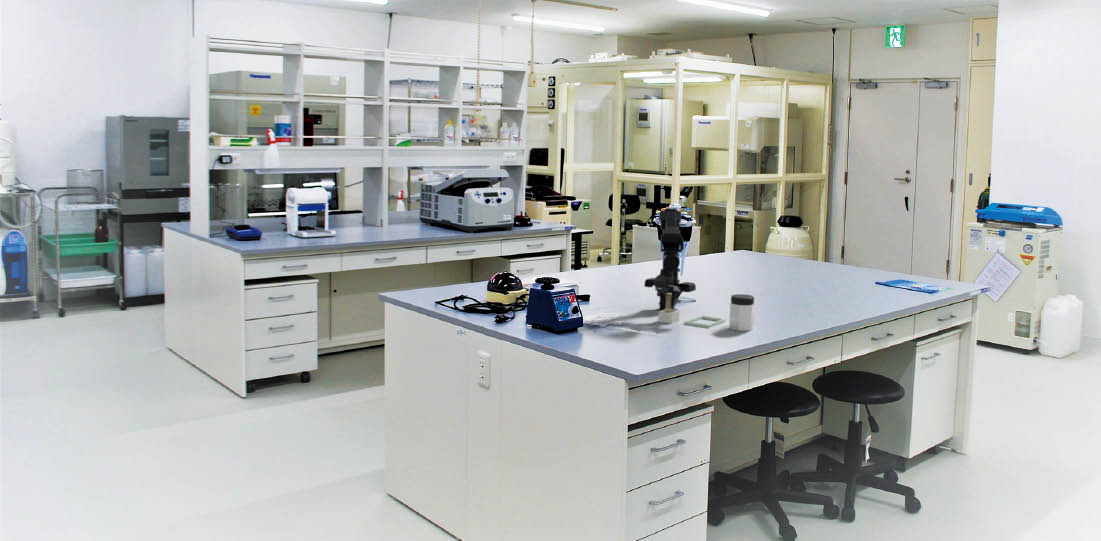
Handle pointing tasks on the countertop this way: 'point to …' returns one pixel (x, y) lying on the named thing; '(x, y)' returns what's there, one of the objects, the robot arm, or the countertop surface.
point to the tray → (691, 322)
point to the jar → (741, 312)
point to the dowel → (668, 303)
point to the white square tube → (668, 316)
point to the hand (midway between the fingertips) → (669, 307)
